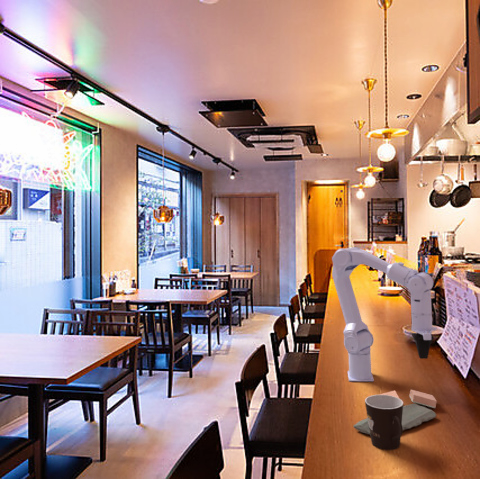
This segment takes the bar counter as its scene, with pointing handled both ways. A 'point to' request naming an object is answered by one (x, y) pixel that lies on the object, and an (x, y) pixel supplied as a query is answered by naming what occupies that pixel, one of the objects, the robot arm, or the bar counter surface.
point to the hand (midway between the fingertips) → (423, 357)
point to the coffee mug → (385, 420)
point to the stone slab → (404, 418)
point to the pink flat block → (423, 398)
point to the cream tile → (391, 394)
